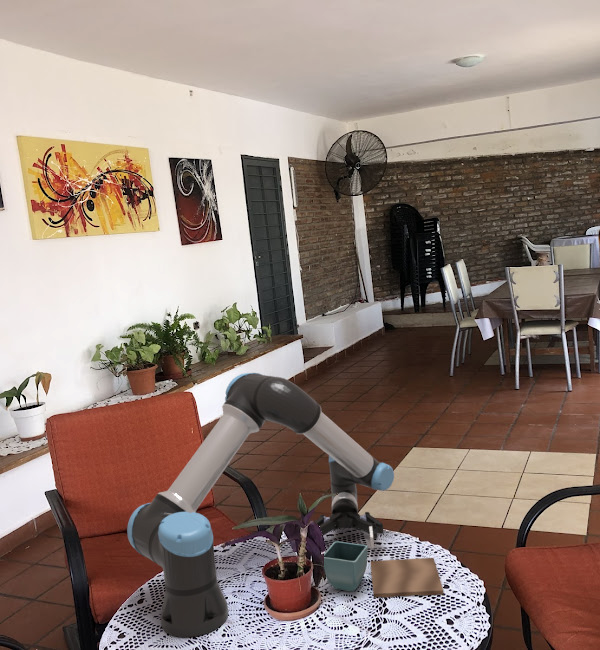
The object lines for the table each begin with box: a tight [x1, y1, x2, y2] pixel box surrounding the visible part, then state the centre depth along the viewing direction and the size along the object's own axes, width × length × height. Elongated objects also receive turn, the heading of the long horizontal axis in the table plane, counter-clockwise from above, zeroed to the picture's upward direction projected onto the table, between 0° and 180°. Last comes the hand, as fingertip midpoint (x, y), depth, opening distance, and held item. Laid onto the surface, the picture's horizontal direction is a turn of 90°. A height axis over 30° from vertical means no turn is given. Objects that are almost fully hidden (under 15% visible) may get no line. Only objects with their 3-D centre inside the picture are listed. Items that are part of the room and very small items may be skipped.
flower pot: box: [323, 541, 369, 592], centre depth 162 cm, size 9×9×9 cm
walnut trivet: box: [370, 557, 444, 599], centre depth 163 cm, size 16×16×1 cm
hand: (345, 543), depth 171 cm, fingers open, 13 cm apart
